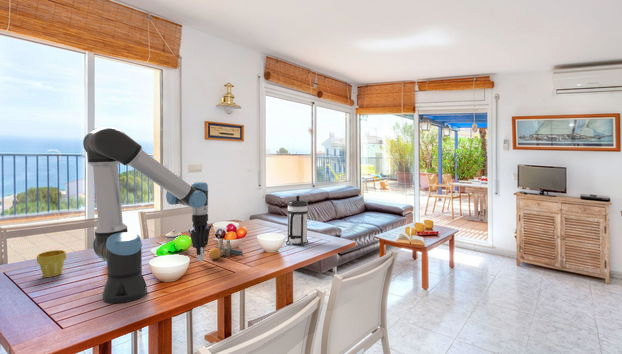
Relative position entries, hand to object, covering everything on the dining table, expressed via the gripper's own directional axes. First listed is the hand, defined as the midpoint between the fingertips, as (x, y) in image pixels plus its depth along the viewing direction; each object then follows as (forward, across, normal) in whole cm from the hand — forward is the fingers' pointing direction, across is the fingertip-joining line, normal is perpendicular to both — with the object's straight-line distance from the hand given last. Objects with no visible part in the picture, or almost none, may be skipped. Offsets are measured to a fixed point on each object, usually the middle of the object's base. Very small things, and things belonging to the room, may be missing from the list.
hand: (200, 260), depth 169 cm
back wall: (+2, +22, 0) cm, 22 cm away
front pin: (+1, +14, 0) cm, 14 cm away
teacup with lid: (+2, +11, +32) cm, 34 cm away
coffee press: (+2, +57, -23) cm, 62 cm away
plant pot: (+2, -43, +46) cm, 63 cm away
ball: (-1, +10, 0) cm, 10 cm away
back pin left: (+2, +17, +2) cm, 18 cm away
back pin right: (+2, +17, -2) cm, 18 cm away
